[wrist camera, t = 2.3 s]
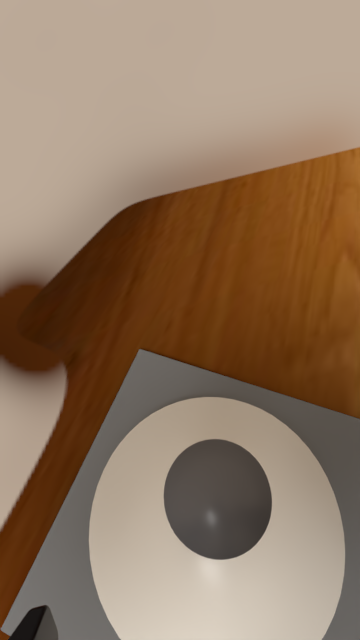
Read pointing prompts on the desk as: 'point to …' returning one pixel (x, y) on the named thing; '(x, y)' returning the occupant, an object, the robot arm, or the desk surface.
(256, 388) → the mat
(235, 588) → the lid
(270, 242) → the desk surface
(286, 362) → the desk surface
